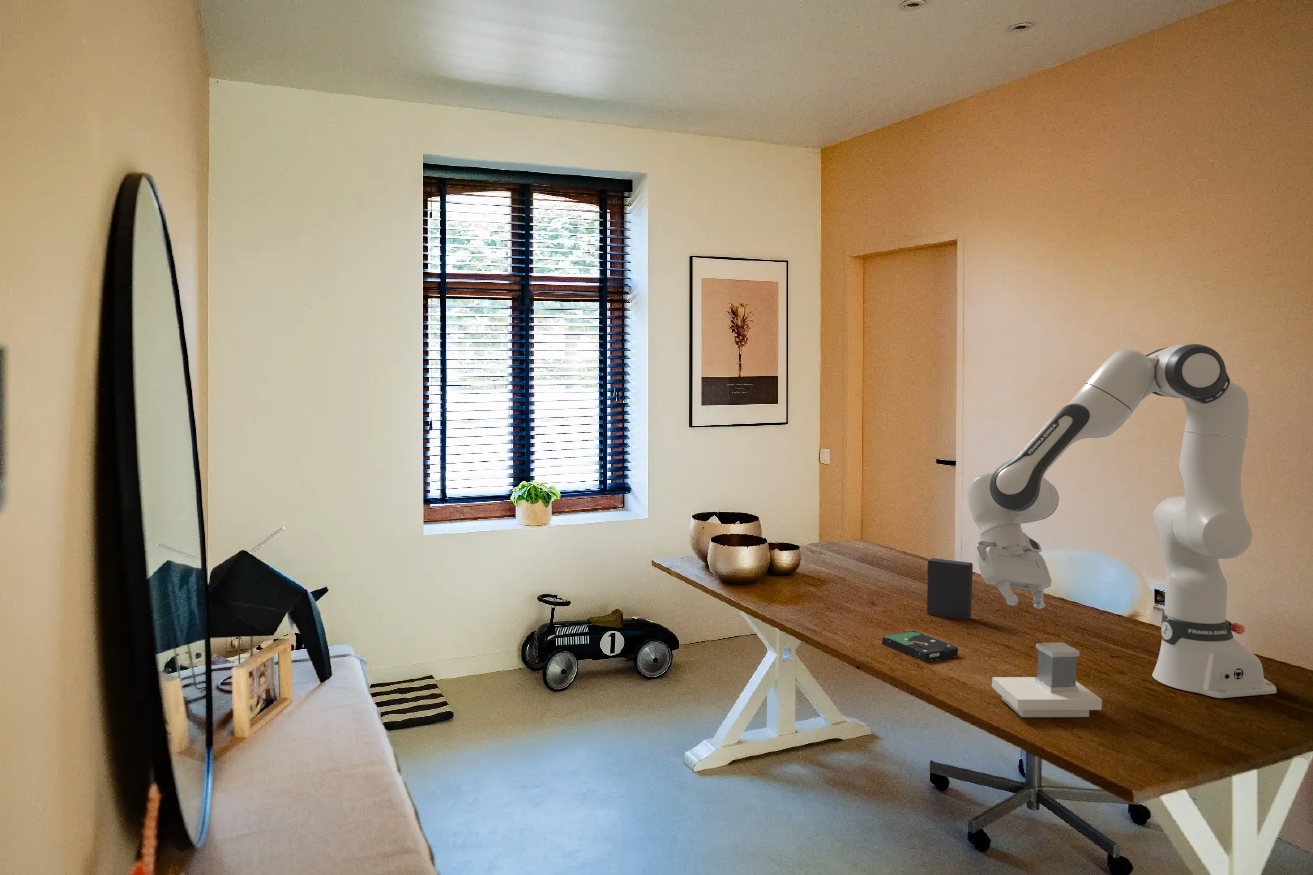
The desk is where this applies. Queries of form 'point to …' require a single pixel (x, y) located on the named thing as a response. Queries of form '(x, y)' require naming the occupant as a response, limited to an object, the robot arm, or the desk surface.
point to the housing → (1056, 667)
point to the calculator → (949, 588)
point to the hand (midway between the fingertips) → (1027, 606)
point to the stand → (1044, 698)
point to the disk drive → (920, 646)
